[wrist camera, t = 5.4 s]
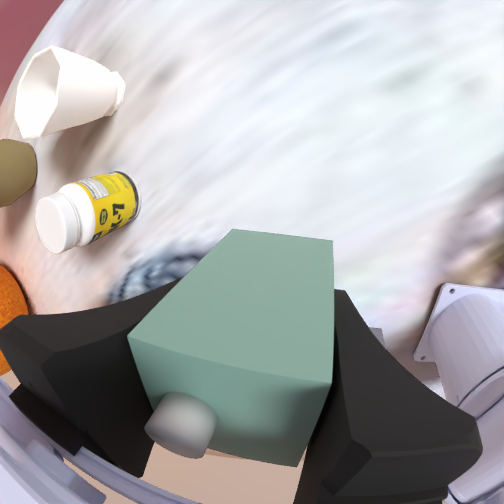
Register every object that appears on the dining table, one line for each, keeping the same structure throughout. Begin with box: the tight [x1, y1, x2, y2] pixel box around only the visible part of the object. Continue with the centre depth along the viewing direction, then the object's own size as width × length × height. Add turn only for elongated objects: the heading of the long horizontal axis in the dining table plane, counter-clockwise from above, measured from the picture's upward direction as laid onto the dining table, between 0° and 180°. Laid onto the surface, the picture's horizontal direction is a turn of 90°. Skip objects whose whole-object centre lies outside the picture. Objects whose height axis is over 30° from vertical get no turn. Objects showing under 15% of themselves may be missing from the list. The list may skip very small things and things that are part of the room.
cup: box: [15, 45, 125, 139], centre depth 16 cm, size 7×10×8 cm
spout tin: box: [127, 229, 334, 467], centre depth 8 cm, size 4×4×8 cm
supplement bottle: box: [35, 171, 141, 254], centre depth 18 cm, size 5×5×8 cm
